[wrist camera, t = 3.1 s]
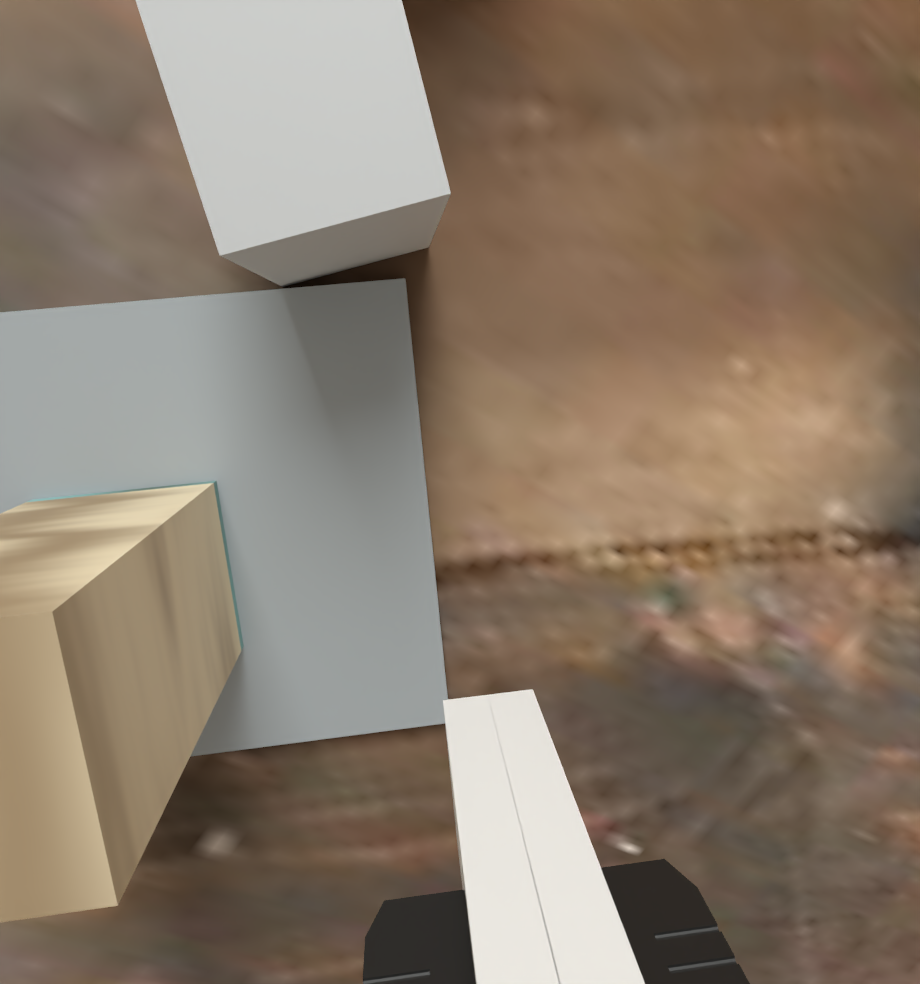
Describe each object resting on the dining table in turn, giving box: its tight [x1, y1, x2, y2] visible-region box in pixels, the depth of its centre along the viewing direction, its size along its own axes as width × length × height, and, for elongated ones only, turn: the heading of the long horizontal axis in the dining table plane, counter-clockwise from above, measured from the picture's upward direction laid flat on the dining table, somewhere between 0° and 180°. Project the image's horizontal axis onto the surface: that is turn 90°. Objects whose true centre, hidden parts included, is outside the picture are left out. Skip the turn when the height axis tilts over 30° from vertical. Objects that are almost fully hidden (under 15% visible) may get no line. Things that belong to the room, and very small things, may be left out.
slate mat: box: [0, 278, 448, 757], centre depth 25 cm, size 24×16×1 cm, turn 95°
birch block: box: [0, 481, 244, 922], centre depth 19 cm, size 6×6×12 cm
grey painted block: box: [136, 0, 451, 287], centre depth 19 cm, size 5×5×9 cm
